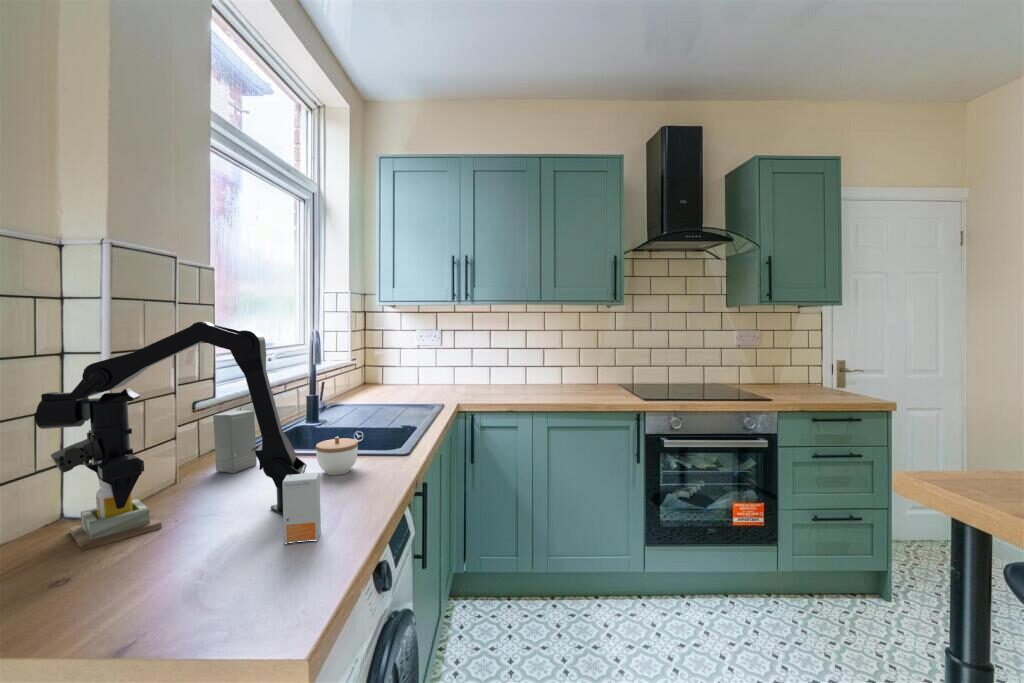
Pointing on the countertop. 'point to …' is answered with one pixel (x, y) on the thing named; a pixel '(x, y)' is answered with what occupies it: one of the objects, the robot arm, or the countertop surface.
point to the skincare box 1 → (234, 441)
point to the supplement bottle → (109, 503)
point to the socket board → (113, 526)
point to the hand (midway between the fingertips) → (114, 502)
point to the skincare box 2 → (301, 507)
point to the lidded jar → (337, 455)
